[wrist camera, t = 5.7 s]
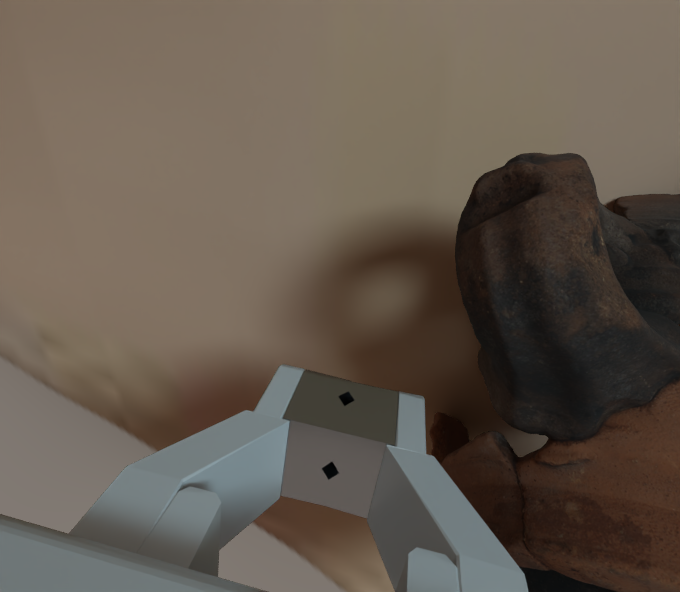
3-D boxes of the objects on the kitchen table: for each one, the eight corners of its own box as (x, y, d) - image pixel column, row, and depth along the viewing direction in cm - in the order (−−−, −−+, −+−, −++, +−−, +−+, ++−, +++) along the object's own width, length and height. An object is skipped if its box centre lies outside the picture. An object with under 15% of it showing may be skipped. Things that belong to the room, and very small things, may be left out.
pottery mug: (884, 353, 11) (1114, 817, 6) (528, 384, 18) (509, 616, 13) (771, -118, 6) (1551, 453, 1) (336, 181, 13) (191, 438, 8)
